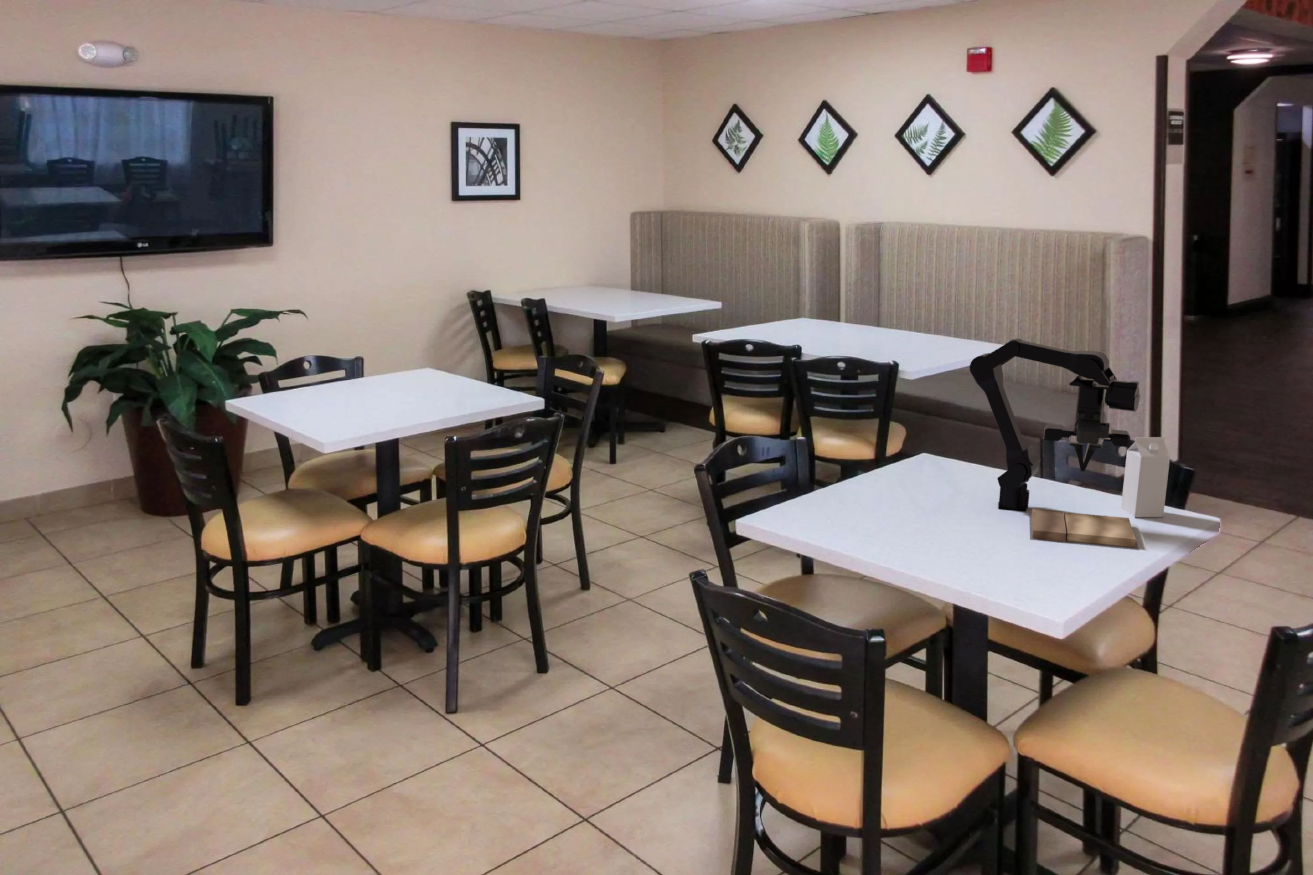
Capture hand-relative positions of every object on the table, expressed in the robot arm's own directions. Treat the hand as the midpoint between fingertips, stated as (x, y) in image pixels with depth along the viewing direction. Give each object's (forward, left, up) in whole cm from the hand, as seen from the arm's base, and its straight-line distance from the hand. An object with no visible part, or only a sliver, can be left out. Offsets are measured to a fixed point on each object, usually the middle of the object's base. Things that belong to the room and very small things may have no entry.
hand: (1082, 471), depth 263 cm
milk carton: (+15, +10, -12) cm, 22 cm away
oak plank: (+4, -12, -11) cm, 17 cm away
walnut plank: (-7, -12, -11) cm, 18 cm away
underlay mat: (0, -12, -12) cm, 17 cm away
